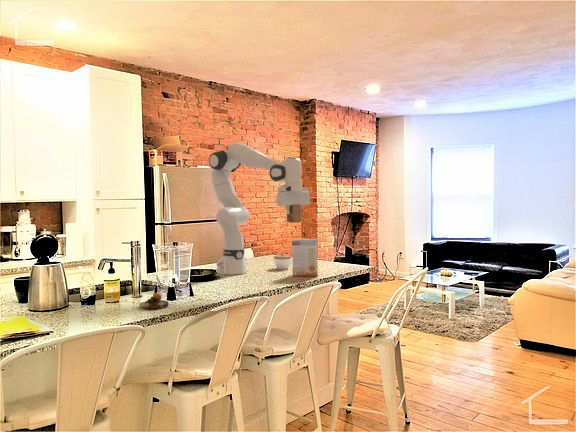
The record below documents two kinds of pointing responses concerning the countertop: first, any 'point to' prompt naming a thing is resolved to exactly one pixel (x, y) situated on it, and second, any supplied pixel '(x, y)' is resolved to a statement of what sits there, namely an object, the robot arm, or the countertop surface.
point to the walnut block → (294, 214)
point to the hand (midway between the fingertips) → (293, 214)
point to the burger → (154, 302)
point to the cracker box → (304, 257)
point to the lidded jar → (282, 261)
